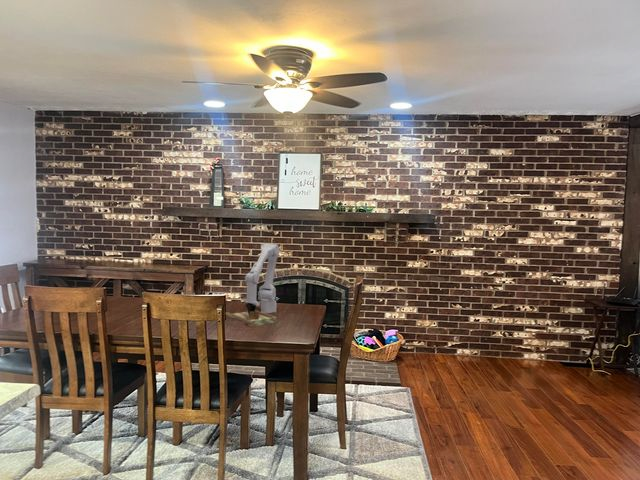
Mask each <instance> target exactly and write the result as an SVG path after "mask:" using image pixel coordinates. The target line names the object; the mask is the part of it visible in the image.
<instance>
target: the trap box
mask: <svg viewBox="0 0 640 480" xmlns="http://www.w3.org/2000/svg"><path fill="white" fill-rule="evenodd" d="M255 311H258V312H259V319H254V320H253V319H250V318H249V314H248V311H243V312H235V313H231V312H228V311H226V312H225V315H226V316H227V317H230V318H234V319H235V320H238V321H241V322H244V325H245V326H248V327H250V328H251V327H257V326H258V327H259V326H262V325H264V326H265V325H269V324H276V323H277V322H278V317H277V316H274V315H272V314H270V313H262V312H261V311H259V310H257V309H255Z"/></svg>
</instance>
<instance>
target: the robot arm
mask: <svg viewBox="0 0 640 480" xmlns="http://www.w3.org/2000/svg"><path fill="white" fill-rule="evenodd" d="M279 255H280V247H279V244H277V243H275V244H273V243H272V244H271V243H263V244H262V245H261V248H260V255H259V257H258V259H257V261H256V262H255V263H253V266H252V267H251V269H250V271H249V272H248V273H246V274H245V277H244V280H245V285H246V298H242V300H243V301H242V302H243V303H246V304H245V307H246V310H247V312H248V314H249V312H250V311H255V310H256V308H257V307H260V312H262V313H266V314H271V313H277V301H276V299H275V298H276V296H277V293H276V291H277V289H276V287H275V286H274V285H273V283H274V277H275V272H276V265H277V259H278V258H279ZM266 260H267V267H266V270H265V271H266V272H265V278H264V283H263V284H262V285H261V286H260V288H259V291H257V288H258V282H259V281H260V275H261V272H262V270H263V268H264V267H263V265H264V263H265V262H266ZM257 293H258V299H259V300H260V301H258V300H257Z"/></svg>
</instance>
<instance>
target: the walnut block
mask: <svg viewBox="0 0 640 480" xmlns="http://www.w3.org/2000/svg"><path fill="white" fill-rule="evenodd" d="M258 311H259V310H256V311H250V312H249V318H250V319H249V320H251V319H253V320H254V319H259V312H260V311H259V312H258Z"/></svg>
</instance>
